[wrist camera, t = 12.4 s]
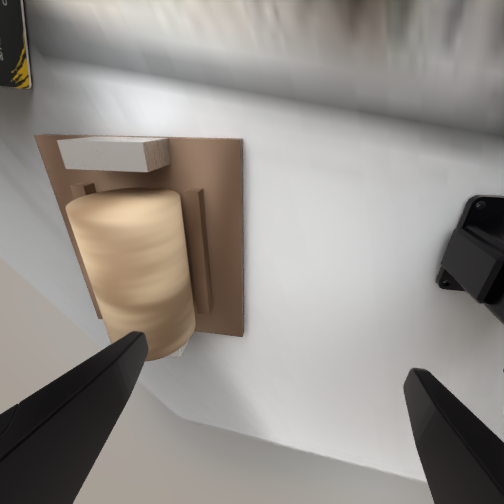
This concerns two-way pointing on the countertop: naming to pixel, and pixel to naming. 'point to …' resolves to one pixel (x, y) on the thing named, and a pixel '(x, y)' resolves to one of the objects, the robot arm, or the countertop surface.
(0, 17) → the medicine bottle
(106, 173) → the holder stand
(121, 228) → the paper roll
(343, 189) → the countertop surface
